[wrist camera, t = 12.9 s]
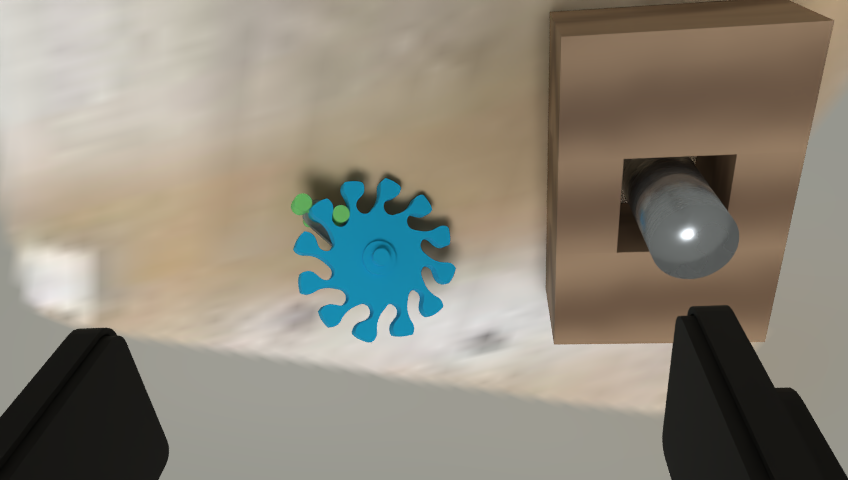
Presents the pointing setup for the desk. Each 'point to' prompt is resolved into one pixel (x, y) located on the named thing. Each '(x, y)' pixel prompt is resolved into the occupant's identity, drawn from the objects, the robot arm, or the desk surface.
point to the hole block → (674, 154)
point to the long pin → (679, 216)
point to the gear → (371, 257)
